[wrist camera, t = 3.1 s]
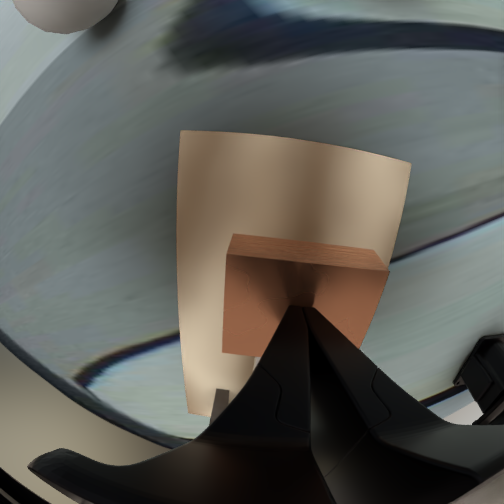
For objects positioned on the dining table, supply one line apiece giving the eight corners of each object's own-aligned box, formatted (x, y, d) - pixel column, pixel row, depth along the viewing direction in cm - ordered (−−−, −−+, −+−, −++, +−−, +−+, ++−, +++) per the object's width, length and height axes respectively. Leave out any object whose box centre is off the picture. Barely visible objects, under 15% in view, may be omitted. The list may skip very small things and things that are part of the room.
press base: (399, 160, 13) (485, 182, 7) (320, 411, 22) (328, 479, 15) (188, 131, 14) (120, 124, 7) (191, 400, 22) (174, 468, 15)
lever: (368, 243, 10) (392, 274, 8) (289, 444, 17) (289, 470, 15) (235, 227, 10) (225, 257, 8) (223, 439, 17) (219, 466, 15)
